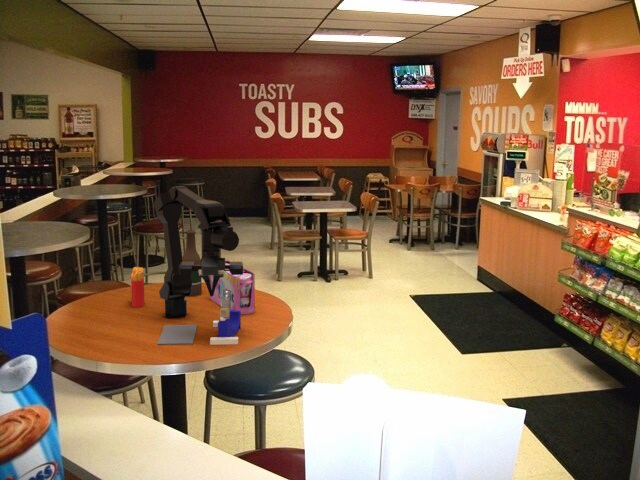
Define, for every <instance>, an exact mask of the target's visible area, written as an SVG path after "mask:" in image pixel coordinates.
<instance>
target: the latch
mask: <svg viewBox="0 0 640 480" xmlns="http://www.w3.org/2000/svg"><path fill="white" fill-rule="evenodd" d="M230 311H231V293H230V290H223V301H222V307H220V309H219V317H220V318H221V317H223V318H229V317H230Z"/></svg>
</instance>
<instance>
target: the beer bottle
mask: <svg viewBox="0 0 640 480" xmlns="http://www.w3.org/2000/svg"><path fill="white" fill-rule="evenodd" d="M185 234H186V237H185V238H186V239H185V240H186V241H185V251H184V253H182V258H183V262H194V265H201V256H200V254H199V253H198V251H197V248H196V247H197V246H196V244H197V243H196V234H197V233H196V230H195V229H186V230H185ZM202 280H203V279H202V278H200V277H199V273H198V271H192V273H191V281H192V288H191V293H190V296H189V297H197V296H201V295H202V286H203V285H202Z"/></svg>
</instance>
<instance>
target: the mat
mask: <svg viewBox="0 0 640 480" xmlns="http://www.w3.org/2000/svg"><path fill="white" fill-rule="evenodd" d="M197 328H198V324H164V326H163V329H162V331H161V334H160V336H159V338H158V341H157V344H156V345H157V346H170V345H171V346H173V345H174V346H177V345H178V346H179V345H183V346H186V345H193V344H194V342H195V336H196V332H197Z"/></svg>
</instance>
